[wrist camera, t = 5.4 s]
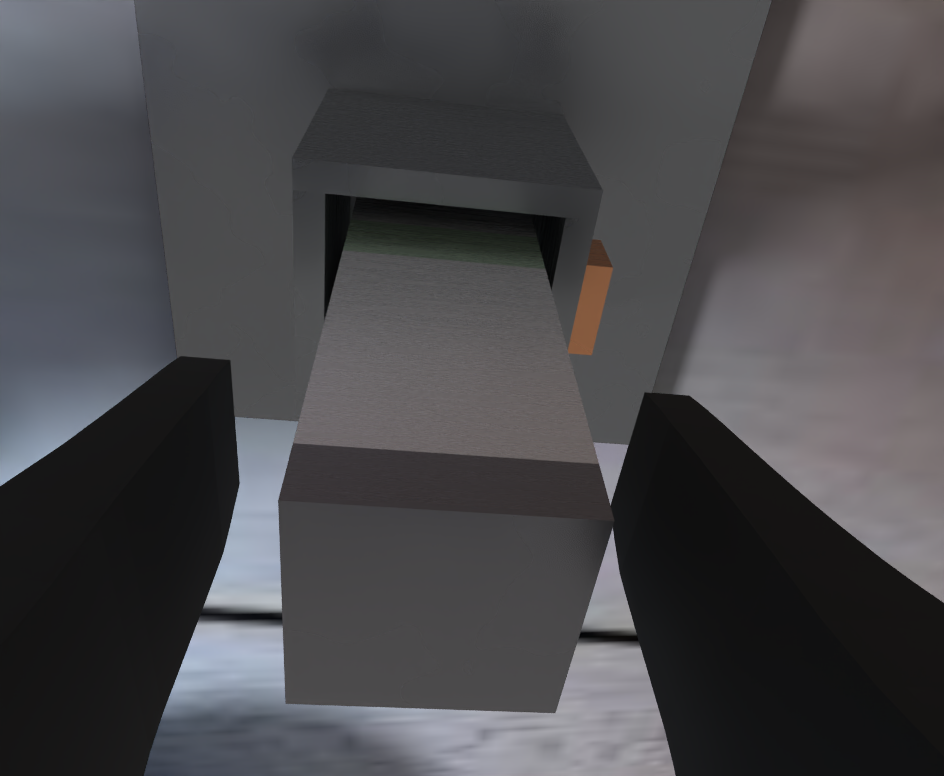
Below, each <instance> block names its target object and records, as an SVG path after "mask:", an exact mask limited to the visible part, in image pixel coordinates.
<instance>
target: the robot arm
mask: <svg viewBox="0 0 944 776" xmlns="http://www.w3.org/2000/svg"><path fill="white" fill-rule="evenodd" d="M239 484H240V483H239V470H238V456H237V442H236V429H235V415H234V402H233V388H232V375H231V361H230V360H225V359H212V358H199V357H187V356H180V357H178V358H177V359H176V360H174V361H173V362H171V363H170V364H169V365H167V366H166V367H165V368H163V369H162V370H161V371H159V372H158V373H157V374H156V375H154V376H153V377H152V378H150V379H149V380H148V381H146V382H145V383H144V384H143V385H141V386H140V387H139V388H137V389H136V390H135V391H134V392H132V393H131V394H130V395H128V396H127V397H126V398H124V399H123V400H122V401H121V402H119V403H118V404H117V405H115V406H114V407H113V408H111V409H110V410H109V411H107V412H106V413H105V414H103V415H102V416H101V417H99V418H98V419H96V420H95V421H94V422H92V423H91V424H90V425H88V426H87V427H86V428H84V429H83V430H82V431H80V432H79V433H78V434H76V435H75V436H74V437H72V438H71V439H70V440H68V441H67V442H65V443H64V444H63V445H61V446H60V447H58V448H57V449H55V450H54V451H52V452H51V453H49V454H48V455H46V456H45V457H43V458H42V459H40V460H39V461H37V462H36V463H34V464H33V465H31V466H30V467H28V468H27V469H25V470H24V471H22V472H21V473H19V474H18V475H16V476H15V477H13V478H12V479H10V480H9V481H7V482H6V483H5V484H3V485H2V486H0V776H144V772H145V769H146V765H147V761H148V757H149V754H150V750H151V747H152V744H153V741H154V738H155V735H156V732H157V729H158V726H159V723H160V720H161V717H162V714H163V712H164V709H165V706H166V704H167V701H168V698H169V696H170V693H171V690H172V688H173V685H174V683H175V680H176V677H177V675H178V672H179V669H180V667H181V664H182V661H183V659H184V656H185V654H186V651H187V648H188V646H189V643H190V640H191V638H192V635H193V632H194V630H195V627H196V625H197V622H198V619H199V617H200V614H201V611H202V609H203V606H204V603H205V601H206V598H207V595H208V593H209V590H210V587H211V585H212V582H213V579H214V577H215V574H216V571H217V569H218V566H219V563H220V560H221V558H222V555H223V552H224V548H225V544H226V540H227V536H228V532H229V528H230V523H231V519H232V515H233V510H234V506H235V502H236V497H237V493H238V488H239ZM611 510H612V514H613V517H614V524H613V531H614V539H615V546H616V552H617V558H618V564H619V571H620V576H621V579H622V583H623V587H624V590H625V594H626V597H627V601H628V604H629V608H630V612H631V615H632V619H633V622H634V626H635V629H636V633H637V636H638V639H639V643H640V646H641V650H642V653H643V657H644V660H645V663H646V667H647V670H648V674H649V677H650V681H651V684H652V687H653V691H654V694H655V698H656V701H657V705H658V708H659V711H660V715H661V718H662V722H663V725H664V729H665V732H666V736H667V741H668V745H669V749H670V753H671V757H672V761H673V765H674V770H675V775H676V776H944V603H943V602H942V601H940V600H939V599H937V598H936V597H934V596H933V595H931V594H930V593H929V592H927V591H926V590H924V589H923V588H921V587H920V586H918V585H917V584H916V583H914V582H913V581H911V580H910V579H908V578H907V577H906V576H904V575H903V574H902V573H900V572H899V571H898V570H896V569H895V568H893V567H892V566H891V565H889V564H888V563H887V562H885V561H884V560H883V559H881V558H880V557H879V556H878V555H876V554H875V553H874V552H872V551H871V550H870V549H869V548H867V547H866V546H865V545H864V544H862V543H861V542H860V541H859V540H857V539H856V538H855V537H854V536H852V535H851V534H850V533H848V532H847V531H846V530H845V529H843V528H842V527H841V526H840V525H838V524H837V523H836V522H835V521H833V520H832V519H831V518H830V517H829V516H827V515H826V514H825V513H824V512H823V511H821V510H820V509H819V508H818V507H817V506H815V505H814V504H813V503H812V502H811V501H809V500H808V499H807V498H806V497H805V496H804V495H802V494H801V493H800V492H799V491H798V490H797V489H795V488H794V487H793V486H792V485H791V484H790V483H789V482H787V481H786V480H785V479H784V478H783V477H782V476H781V475H779V474H778V473H777V472H776V471H775V470H774V469H773V468H772V467H770V466H769V465H768V464H767V463H766V462H765V461H764V460H763V459H762V458H760V457H759V456H758V455H757V454H756V453H755V452H754V451H753V450H752V449H750V448H749V447H748V446H747V445H746V444H745V443H744V442H743V441H742V440H740V439H739V438H738V437H737V436H736V435H735V434H734V433H733V432H732V431H730V430H729V429H728V428H727V427H726V426H725V425H724V424H723V423H721V422H720V421H719V420H718V419H717V418H716V417H715V416H714V415H712V414H711V413H710V412H709V411H708V410H707V409H705V408H704V407H703V406H702V405H701V404H699V403H698V402H697V401H695V400H694V399H693V398H692V397H690V396H686V395H673V394H660V393H647V392H645V393H644V396H643V399H642V403H641V406H640V409H639V413H638V416H637V419H636V423H635V426H634V429H633V433H632V436H631V439H630V443H629V446H628V449H627V453H626V456H625V459H624V463H623V466H622V469H621V473H620V476H619V479H618V483H617V486H616V489H615V493H614V496H613V499H612V503H611Z"/></svg>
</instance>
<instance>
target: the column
mask: <svg viewBox="0 0 944 776" xmlns="http://www.w3.org/2000/svg"><path fill="white" fill-rule="evenodd" d="M278 506H279V533H280V561H281V588H282V616H283V644H284V671H285V699H286V704H310V705H338V706H367V707H395V708H424V709H453V710H481V711H510V712H538V713H555V712H556V709H557V706H558V703H559V699H560V696H561V693H562V690H563V687H564V683H565V680H566V677H567V674H568V670H569V667H570V664H571V661H572V657H573V654H574V651H575V648H576V644H577V641H578V638H579V635H580V631H581V628H582V625H583V622H584V618H585V615H586V612H587V609H588V605H589V602H590V599H591V596H592V592H593V589H594V586H595V583H596V580H597V576H598V573H599V570H600V567H601V563H602V560H603V557H604V554H605V550H606V547H607V544H608V541H609V537H610V534H611V531H612V528H613V524H614V517H613V514H612V510H611V506H610V503H609V499H608V495H607V492H606V488H605V484H604V481H603V477H602V473H601V470H600V466H599V463H598V459H597V455H596V452H595V448H594V444H593V441H592V437H591V433H590V430H589V426H588V422H587V419H586V415H585V411H584V408H583V404H582V400H581V397H580V393H579V390H578V386H577V382H576V379H575V375H574V371H573V368H572V364H571V360H570V357H569V353H568V349H567V346H566V342H565V338H564V335H563V331H562V327H561V324H560V320H559V317H558V313H557V309H556V306H555V302H554V298H553V295H552V291H551V287H550V284H549V280H548V276H547V273H546V269H545V265H544V262H543V258H542V254H541V251H540V247H539V244H538V240H537V236H536V233H535V229H534V225H533V222H532V218H531V214H525V213H515V212H505V211H495V210H485V209H475V208H465V207H455V206H445V205H435V204H425V203H415V202H406V201H396V200H386V199H376V198H366V197H356V201H355V205H354V209H353V213H352V217H351V221H350V225H349V228H348V232H347V236H346V240H345V244H344V248H343V252H342V256H341V259H340V263H339V267H338V271H337V275H336V279H335V283H334V287H333V290H332V294H331V298H330V302H329V306H328V310H327V314H326V318H325V321H324V325H323V329H322V333H321V337H320V341H319V345H318V349H317V353H316V356H315V360H314V364H313V368H312V372H311V376H310V380H309V384H308V387H307V391H306V395H305V399H304V403H303V407H302V411H301V415H300V418H299V422H298V426H297V430H296V434H295V438H294V442H293V446H292V449H291V453H290V457H289V461H288V465H287V469H286V473H285V477H284V480H283V484H282V488H281V492H280V496H279V500H278Z"/></svg>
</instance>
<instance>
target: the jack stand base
mask: <svg viewBox="0 0 944 776" xmlns="http://www.w3.org/2000/svg"><path fill="white" fill-rule="evenodd" d="M771 2H772V0H134V4H135V13H136V21H137V29H138V38H139V46H140V54H141V62H142V71H143V79H144V87H145V96H146V104H147V112H148V120H149V129H150V137H151V145H152V154H153V162H154V170H155V178H156V187H157V195H158V203H159V212H160V220H161V228H162V236H163V245H164V253H165V261H166V270H167V278H168V286H169V294H170V303H171V311H172V319H173V328H174V336H175V344H176V352H177V358H178V357H180V356H187V357H199V358H212V359H225V360H230V361H231V375H232V388H233V402H234V415H235V417H246V418H260V419H274V420H288V421H299V418H300V415H301V411H302V407H303V403H304V399H305V395H306V391H307V387H308V384H309V380H310V376H311V372H312V368H313V364H314V360H315V356H316V353H317V349H318V345H319V341H320V337H321V333H322V329H323V325H324V321H325V318H326V314H327V310H328V306H329V302H330V298H331V294H332V290H333V287H334V283H335V279H336V275H337V271H338V267H339V263H340V259H341V256H342V252H343V248H344V244H345V240H346V236H347V232H348V228H349V225H350V221H351V217H352V213H353V209H354V205H355V201H356V197H366V198H376V199H386V200H396V201H406V202H415V203H425V204H435V205H445V206H455V207H465V208H475V209H485V210H495V211H505V212H515V213H525V214H531V218H532V222H533V225H534V229H535V233H536V236H537V240H538V244H539V247H540V251H541V254H542V258H543V262H544V265H545V269H546V273H547V276H548V280H549V284H550V287H551V291H552V295H553V298H554V302H555V306H556V309H557V313H558V317H559V320H560V324H561V327H562V331H563V335H564V338H565V342H566V346H567V349H568V353H569V357H570V360H571V364H572V368H573V371H574V375H575V379H576V382H577V386H578V390H579V393H580V397H581V400H582V404H583V408H584V411H585V415H586V419H587V422H588V426H589V430H590V433H591V437H592V441H593V442H598V443H612V444H626V445H629V443H630V439H631V436H632V433H633V429H634V426H635V423H636V419H637V416H638V413H639V409H640V406H641V403H642V399H643V396H644V393H645V392H647V393H652V390H653V387H654V384H655V380H656V377H657V374H658V371H659V367H660V364H661V361H662V358H663V354H664V351H665V348H666V345H667V341H668V338H669V335H670V332H671V328H672V325H673V322H674V318H675V315H676V312H677V309H678V305H679V302H680V299H681V296H682V292H683V289H684V286H685V283H686V279H687V276H688V273H689V269H690V266H691V263H692V260H693V256H694V253H695V250H696V247H697V243H698V240H699V237H700V234H701V230H702V227H703V224H704V221H705V217H706V214H707V211H708V207H709V204H710V201H711V198H712V194H713V191H714V188H715V185H716V181H717V178H718V175H719V172H720V168H721V165H722V162H723V158H724V155H725V152H726V149H727V145H728V142H729V139H730V136H731V132H732V129H733V126H734V123H735V119H736V116H737V113H738V110H739V106H740V103H741V100H742V96H743V93H744V90H745V87H746V83H747V80H748V77H749V74H750V70H751V67H752V64H753V61H754V57H755V54H756V51H757V47H758V44H759V41H760V38H761V34H762V31H763V28H764V25H765V21H766V18H767V15H768V12H769V8H770V5H771Z"/></svg>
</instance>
